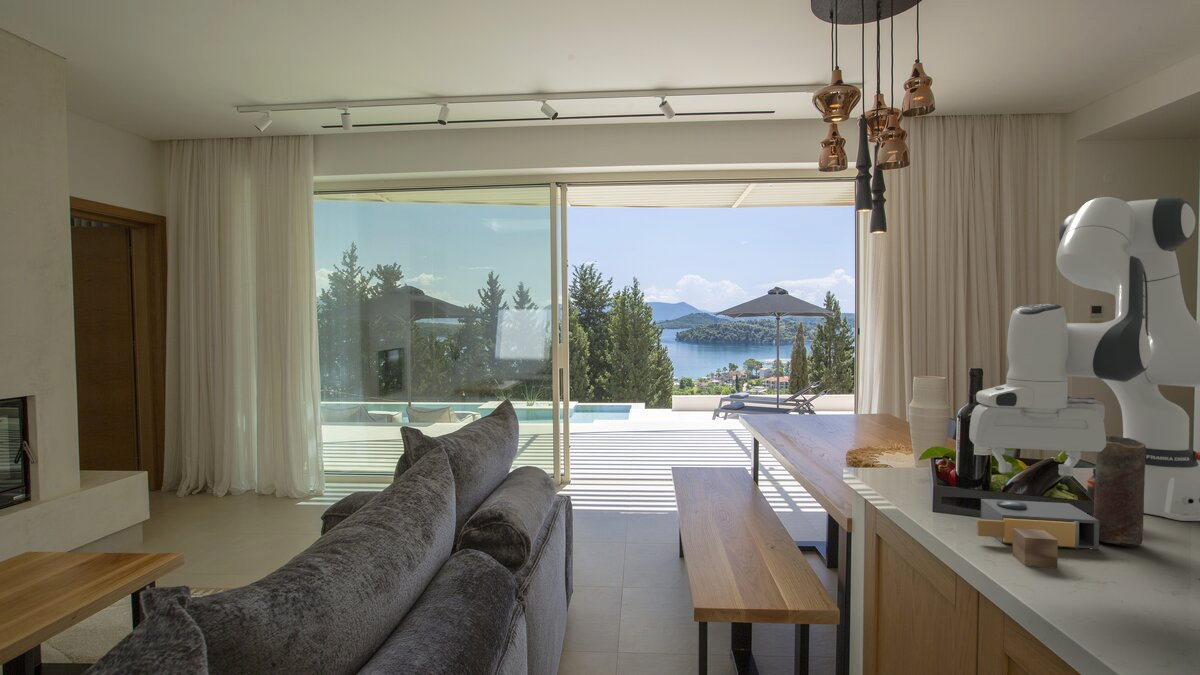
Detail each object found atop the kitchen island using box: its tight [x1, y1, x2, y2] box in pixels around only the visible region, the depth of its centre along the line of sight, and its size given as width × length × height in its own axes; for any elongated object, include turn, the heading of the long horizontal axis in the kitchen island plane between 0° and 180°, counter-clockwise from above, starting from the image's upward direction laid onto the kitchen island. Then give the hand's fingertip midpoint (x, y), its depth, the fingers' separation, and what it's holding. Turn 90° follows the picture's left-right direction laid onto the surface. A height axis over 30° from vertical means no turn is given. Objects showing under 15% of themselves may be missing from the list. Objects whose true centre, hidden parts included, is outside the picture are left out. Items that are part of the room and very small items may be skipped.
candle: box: [1093, 435, 1146, 548], centre depth 118 cm, size 8×7×20 cm
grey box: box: [980, 498, 1100, 550], centre depth 122 cm, size 16×11×6 cm
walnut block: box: [1012, 528, 1059, 569], centre depth 110 cm, size 5×5×5 cm
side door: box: [976, 518, 1079, 549], centre depth 117 cm, size 17×1×5 cm, turn 77°
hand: (1034, 474), depth 109 cm, fingers open, 8 cm apart
